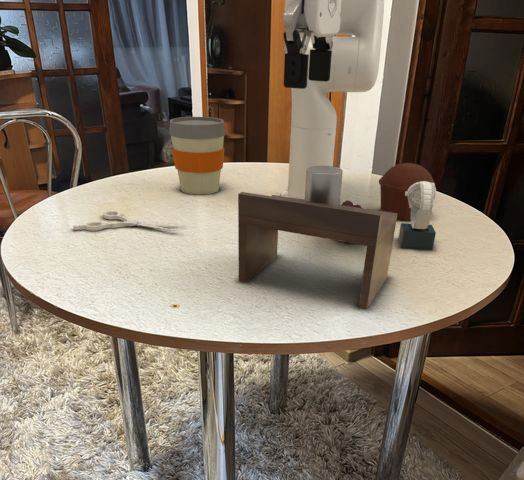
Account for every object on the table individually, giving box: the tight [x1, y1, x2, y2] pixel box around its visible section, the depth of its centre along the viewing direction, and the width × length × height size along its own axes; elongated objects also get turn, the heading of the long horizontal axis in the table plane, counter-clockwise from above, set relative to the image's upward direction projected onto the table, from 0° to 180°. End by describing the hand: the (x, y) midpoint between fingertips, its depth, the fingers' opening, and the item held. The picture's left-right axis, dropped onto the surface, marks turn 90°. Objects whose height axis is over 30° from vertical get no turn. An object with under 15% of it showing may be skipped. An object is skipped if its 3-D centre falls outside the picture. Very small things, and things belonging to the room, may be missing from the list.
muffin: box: [378, 162, 436, 221], centre depth 105 cm, size 12×11×10 cm
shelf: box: [237, 191, 397, 310], centre depth 75 cm, size 12×20×13 cm, turn 65°
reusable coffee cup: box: [168, 116, 226, 195], centre depth 117 cm, size 13×13×15 cm
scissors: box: [72, 210, 180, 233], centre depth 97 cm, size 11×1×20 cm
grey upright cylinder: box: [305, 166, 344, 206], centre depth 72 cm, size 5×5×6 cm
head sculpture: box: [397, 181, 437, 251], centre depth 90 cm, size 6×8×11 cm
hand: (307, 84), depth 73 cm, fingers open, 9 cm apart
